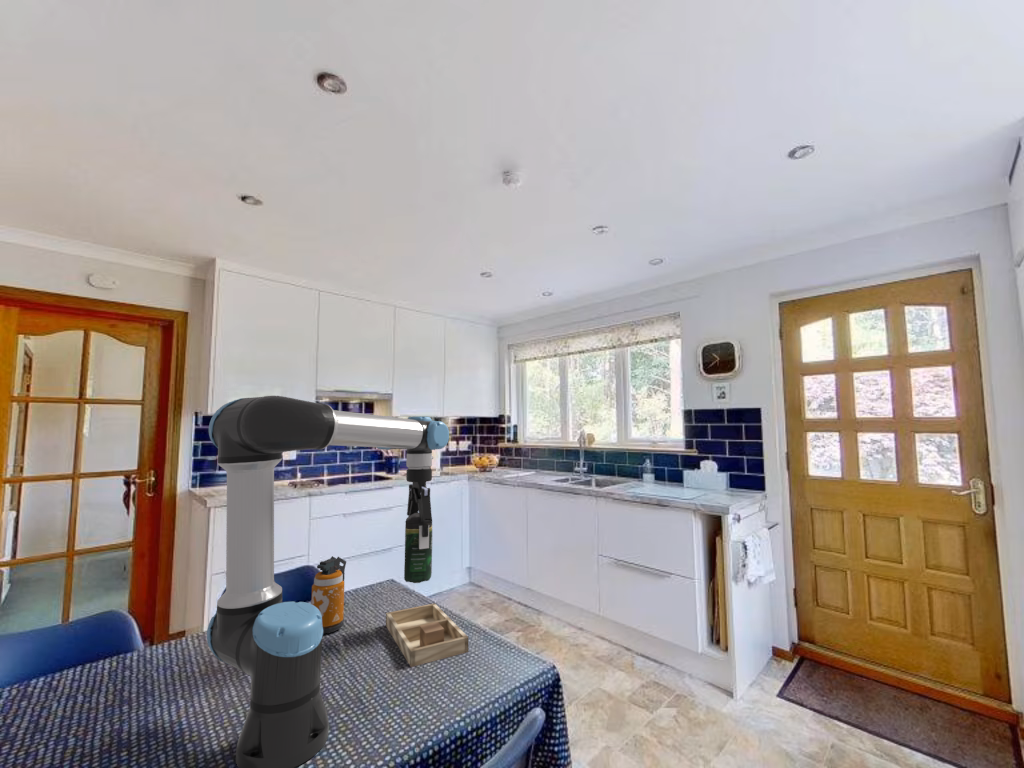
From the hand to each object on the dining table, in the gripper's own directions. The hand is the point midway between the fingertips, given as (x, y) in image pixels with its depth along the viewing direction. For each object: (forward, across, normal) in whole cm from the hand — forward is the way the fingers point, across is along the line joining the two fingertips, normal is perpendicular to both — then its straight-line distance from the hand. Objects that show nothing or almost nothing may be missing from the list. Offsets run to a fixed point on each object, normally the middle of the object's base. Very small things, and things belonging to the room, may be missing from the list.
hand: (418, 544), depth 130 cm
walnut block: (+24, -13, 0) cm, 27 cm away
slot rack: (+24, -7, 0) cm, 25 cm away
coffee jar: (+10, 0, 0) cm, 10 cm away
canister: (+25, +16, +22) cm, 37 cm away
